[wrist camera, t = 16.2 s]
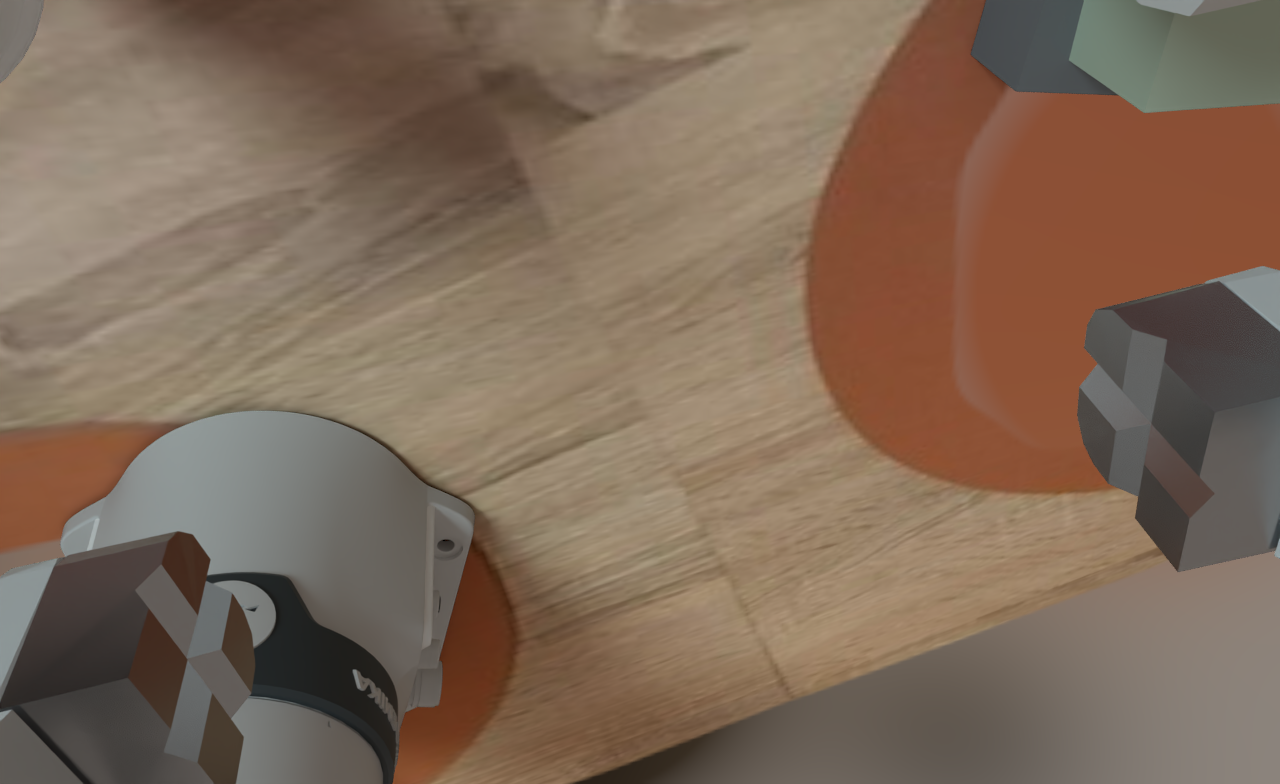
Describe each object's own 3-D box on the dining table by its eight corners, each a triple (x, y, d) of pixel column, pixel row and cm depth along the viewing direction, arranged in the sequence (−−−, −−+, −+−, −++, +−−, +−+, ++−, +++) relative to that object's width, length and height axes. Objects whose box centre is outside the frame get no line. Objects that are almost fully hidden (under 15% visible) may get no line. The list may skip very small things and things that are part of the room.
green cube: (1194, 52, 38) (1283, 102, 34) (1068, 60, 37) (1144, 112, 33) (1242, -95, 35) (1345, -57, 31) (1106, -89, 34) (1194, -50, 30)
